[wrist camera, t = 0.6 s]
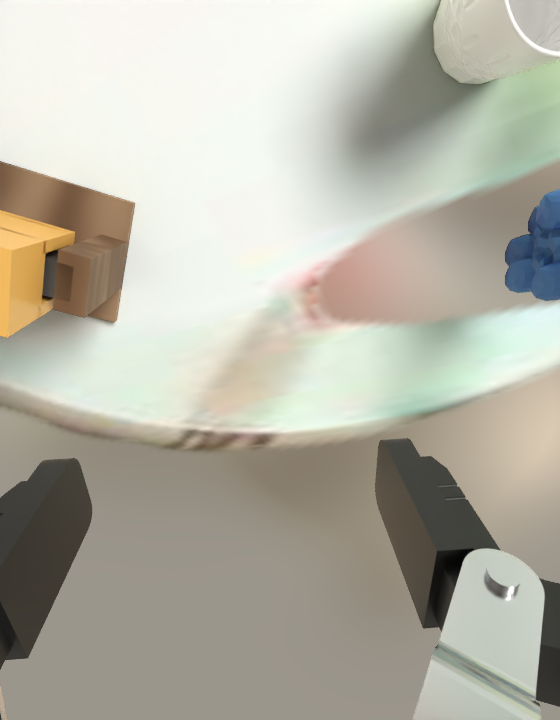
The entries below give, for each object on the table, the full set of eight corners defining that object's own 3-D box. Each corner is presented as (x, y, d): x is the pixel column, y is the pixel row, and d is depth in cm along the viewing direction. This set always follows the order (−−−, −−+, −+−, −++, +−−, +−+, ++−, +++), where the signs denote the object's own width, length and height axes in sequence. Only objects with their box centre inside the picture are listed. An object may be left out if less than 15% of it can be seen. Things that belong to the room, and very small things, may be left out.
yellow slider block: (75, 232, 28) (11, 250, 21) (67, 299, 30) (7, 337, 23) (-2, 209, 27) (-96, 220, 20) (-5, 280, 29) (-92, 313, 22)
